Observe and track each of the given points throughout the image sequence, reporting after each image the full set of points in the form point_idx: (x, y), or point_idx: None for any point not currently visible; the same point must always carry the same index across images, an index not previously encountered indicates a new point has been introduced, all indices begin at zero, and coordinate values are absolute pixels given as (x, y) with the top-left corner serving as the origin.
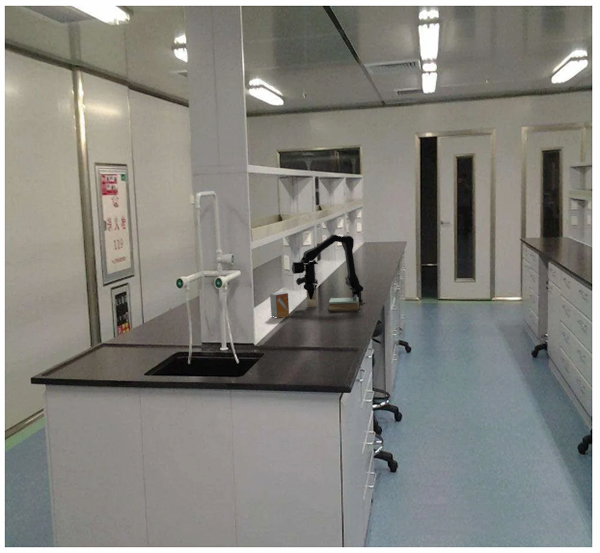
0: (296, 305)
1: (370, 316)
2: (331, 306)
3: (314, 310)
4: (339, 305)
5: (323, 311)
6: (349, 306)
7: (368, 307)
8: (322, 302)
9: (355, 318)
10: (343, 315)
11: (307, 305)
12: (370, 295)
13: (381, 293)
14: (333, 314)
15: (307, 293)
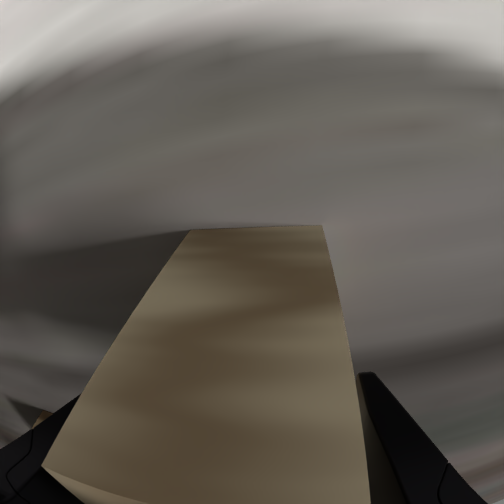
0: (325, 7)
1: None
2: None
3: (26, 329)
4: None
5: (28, 383)
6: None
7: None
8: (458, 370)
9: (4, 443)
10: (13, 432)
11: (185, 241)
12: (491, 493)
13: (499, 499)
14: (4, 408)
15: (80, 433)
